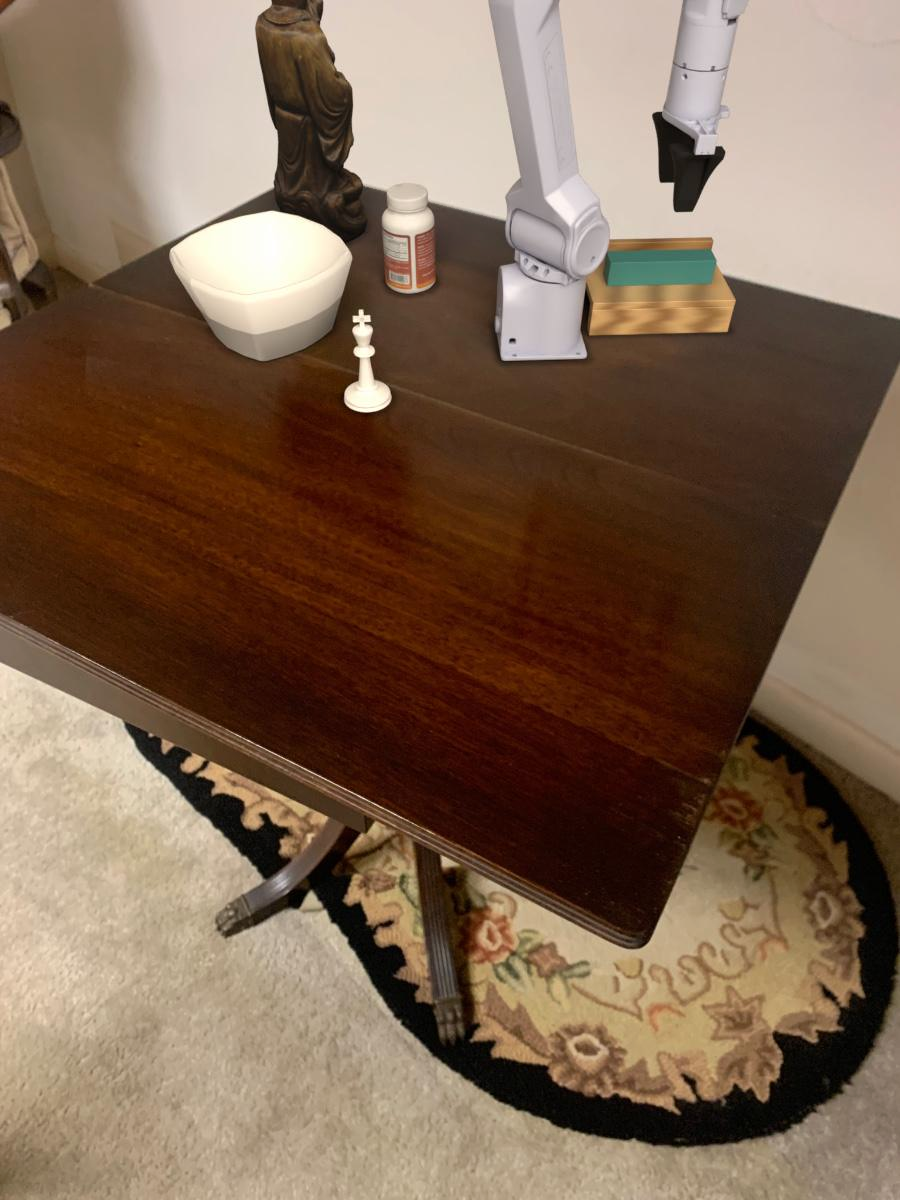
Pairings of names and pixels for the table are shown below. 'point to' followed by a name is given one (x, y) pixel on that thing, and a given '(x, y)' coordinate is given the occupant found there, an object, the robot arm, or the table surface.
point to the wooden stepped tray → (658, 298)
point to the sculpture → (309, 118)
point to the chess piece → (365, 373)
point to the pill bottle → (408, 239)
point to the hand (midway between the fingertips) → (675, 195)
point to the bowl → (265, 281)
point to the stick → (659, 267)
